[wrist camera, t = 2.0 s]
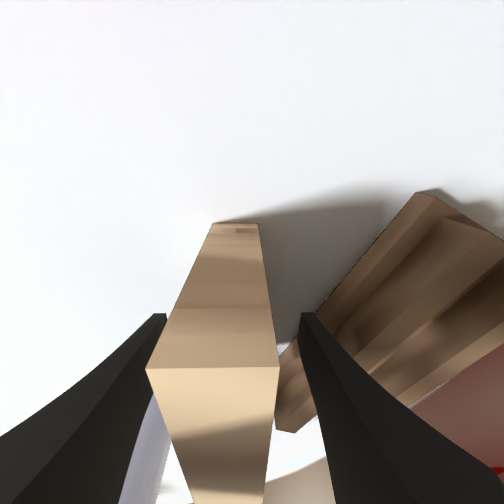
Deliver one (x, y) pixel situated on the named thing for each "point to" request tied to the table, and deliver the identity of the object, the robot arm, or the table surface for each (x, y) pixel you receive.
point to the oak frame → (220, 369)
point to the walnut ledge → (409, 308)
